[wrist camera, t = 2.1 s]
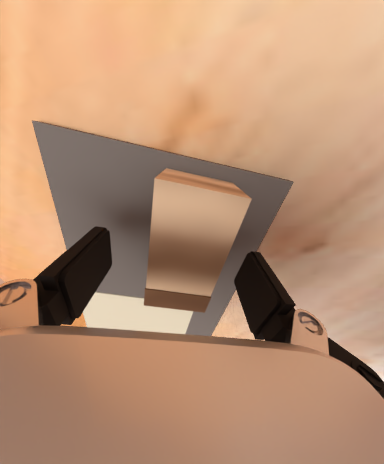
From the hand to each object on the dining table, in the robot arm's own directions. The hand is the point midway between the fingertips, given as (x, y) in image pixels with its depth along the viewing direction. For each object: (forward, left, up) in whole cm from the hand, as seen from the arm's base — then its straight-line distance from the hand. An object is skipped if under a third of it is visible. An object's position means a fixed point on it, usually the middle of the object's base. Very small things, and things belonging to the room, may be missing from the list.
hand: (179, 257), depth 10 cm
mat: (+1, +7, -4) cm, 8 cm away
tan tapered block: (-1, 0, -4) cm, 4 cm away
